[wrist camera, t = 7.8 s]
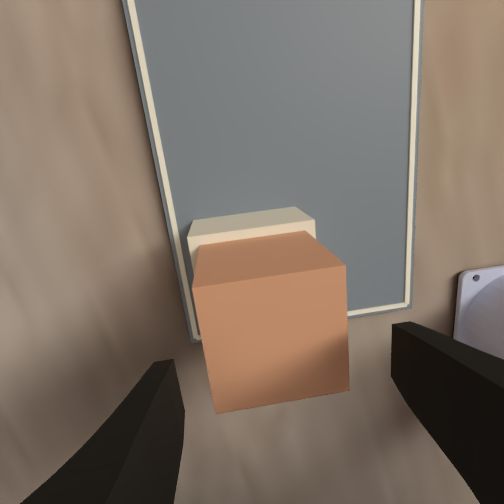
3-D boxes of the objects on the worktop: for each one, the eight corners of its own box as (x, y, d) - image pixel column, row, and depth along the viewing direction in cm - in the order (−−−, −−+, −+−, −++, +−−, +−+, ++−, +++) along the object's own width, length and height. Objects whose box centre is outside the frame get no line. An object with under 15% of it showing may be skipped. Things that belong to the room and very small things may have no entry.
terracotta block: (305, 230, 15) (345, 264, 10) (311, 323, 17) (349, 390, 12) (199, 245, 15) (191, 287, 10) (215, 338, 16) (215, 414, 12)
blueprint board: (418, -49, 16) (493, -123, 12) (406, 304, 22) (453, 341, 18) (119, -24, 15) (80, -95, 11) (191, 338, 21) (185, 386, 17)
